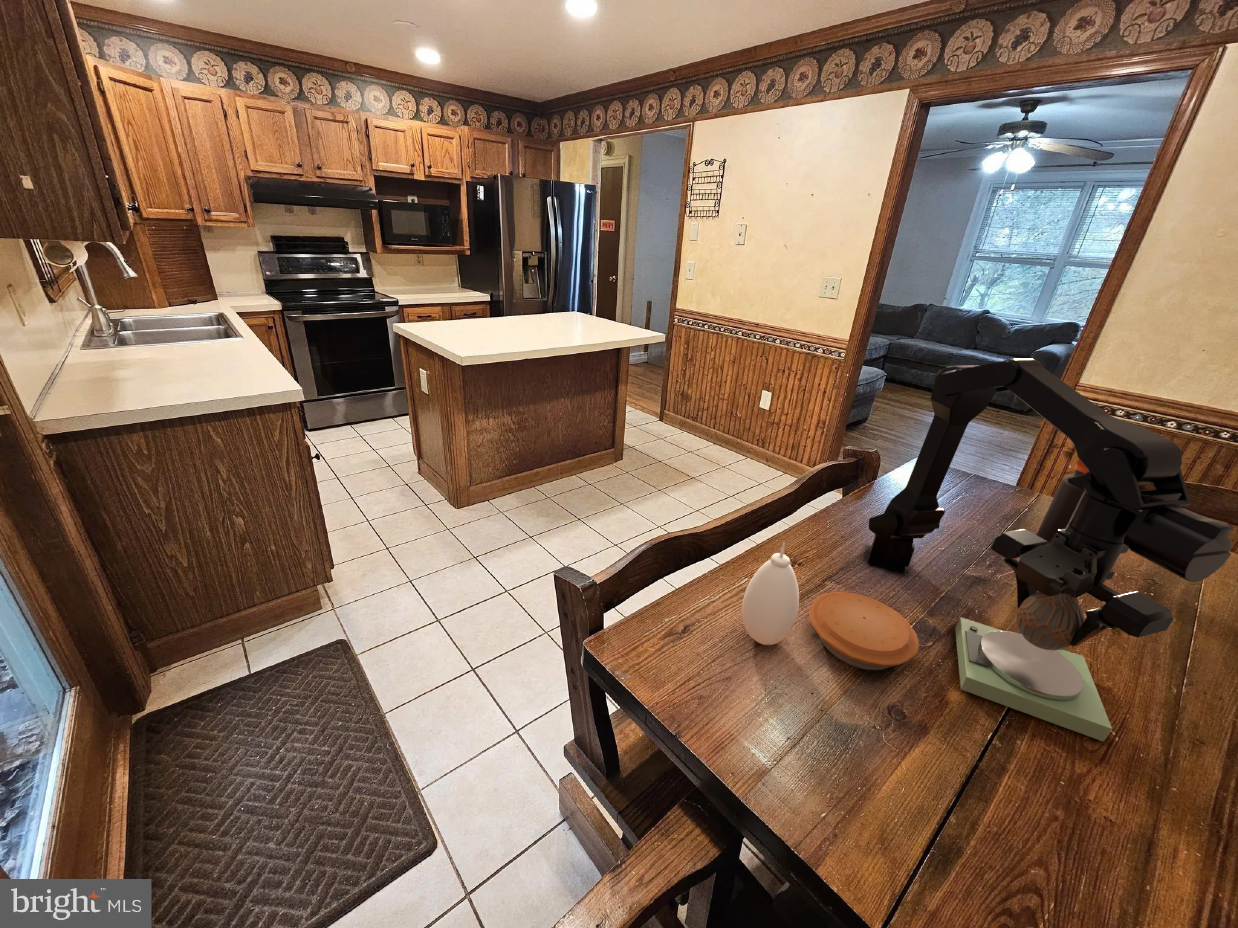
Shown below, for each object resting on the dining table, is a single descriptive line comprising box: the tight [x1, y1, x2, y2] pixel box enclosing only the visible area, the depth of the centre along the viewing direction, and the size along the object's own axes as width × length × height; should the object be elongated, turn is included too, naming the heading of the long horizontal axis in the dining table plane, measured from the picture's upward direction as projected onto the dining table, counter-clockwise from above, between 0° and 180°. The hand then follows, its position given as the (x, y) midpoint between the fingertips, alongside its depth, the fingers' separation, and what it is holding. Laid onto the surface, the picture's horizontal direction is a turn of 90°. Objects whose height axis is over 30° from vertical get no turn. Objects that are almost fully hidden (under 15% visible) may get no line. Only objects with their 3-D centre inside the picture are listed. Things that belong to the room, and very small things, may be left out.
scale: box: [954, 616, 1113, 742], centre depth 74 cm, size 16×14×3 cm
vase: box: [1016, 591, 1086, 650], centre depth 70 cm, size 7×7×9 cm
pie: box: [808, 591, 920, 671], centre depth 79 cm, size 15×16×5 cm
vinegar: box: [1035, 458, 1089, 542], centre depth 104 cm, size 7×7×20 cm
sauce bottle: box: [741, 541, 800, 646], centre depth 76 cm, size 8×8×18 cm
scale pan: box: [979, 630, 1083, 700], centre depth 74 cm, size 12×12×1 cm
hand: (1046, 626), depth 71 cm, fingers closed on vase, 7 cm apart
